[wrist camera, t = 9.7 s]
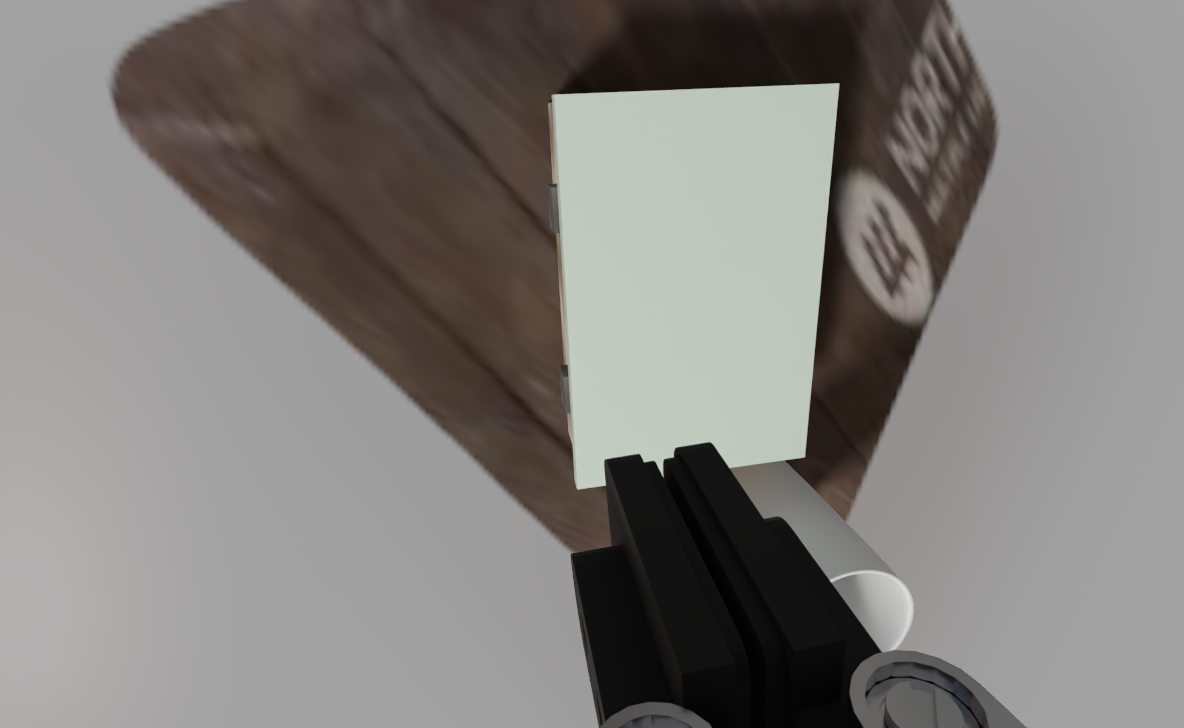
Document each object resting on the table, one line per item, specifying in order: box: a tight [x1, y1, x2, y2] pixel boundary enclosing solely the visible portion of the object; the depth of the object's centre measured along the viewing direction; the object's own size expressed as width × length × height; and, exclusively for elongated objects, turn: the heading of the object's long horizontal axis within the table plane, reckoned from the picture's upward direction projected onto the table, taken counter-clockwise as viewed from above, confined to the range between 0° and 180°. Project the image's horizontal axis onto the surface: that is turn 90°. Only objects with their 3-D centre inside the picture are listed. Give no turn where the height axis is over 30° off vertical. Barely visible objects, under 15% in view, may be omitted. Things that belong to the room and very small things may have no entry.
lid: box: [552, 83, 839, 489], centre depth 30 cm, size 18×12×1 cm
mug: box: [730, 460, 914, 653], centre depth 36 cm, size 10×7×12 cm, turn 92°
